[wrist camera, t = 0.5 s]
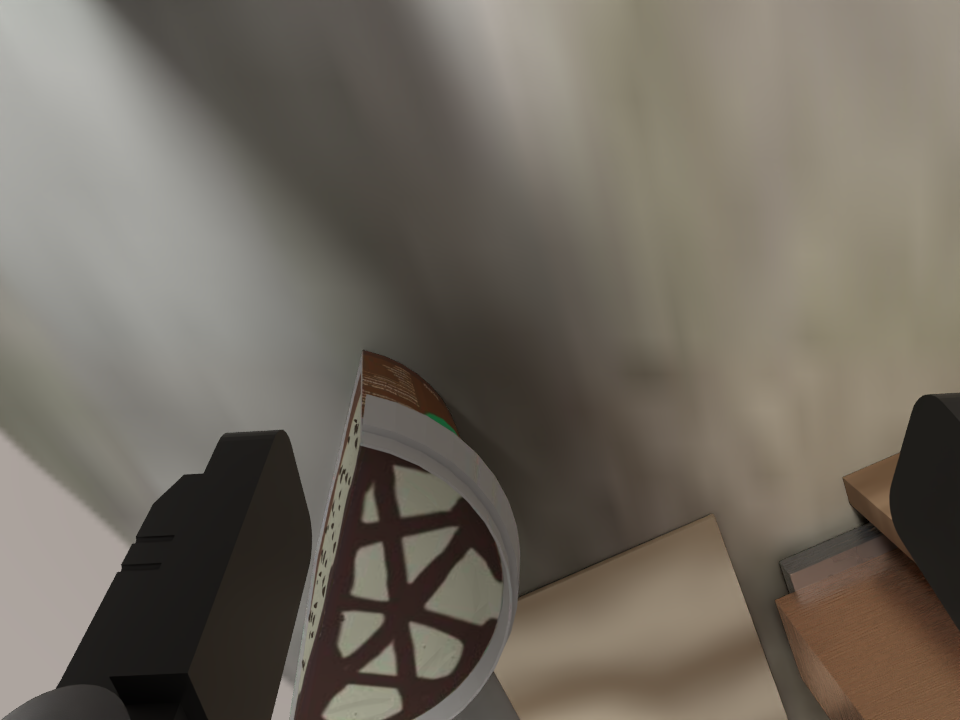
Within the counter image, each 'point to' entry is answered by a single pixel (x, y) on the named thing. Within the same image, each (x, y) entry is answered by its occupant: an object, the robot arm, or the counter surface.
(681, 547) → the pad
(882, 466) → the tunnel
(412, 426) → the food container
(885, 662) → the tall wood-grain block
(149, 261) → the counter surface
